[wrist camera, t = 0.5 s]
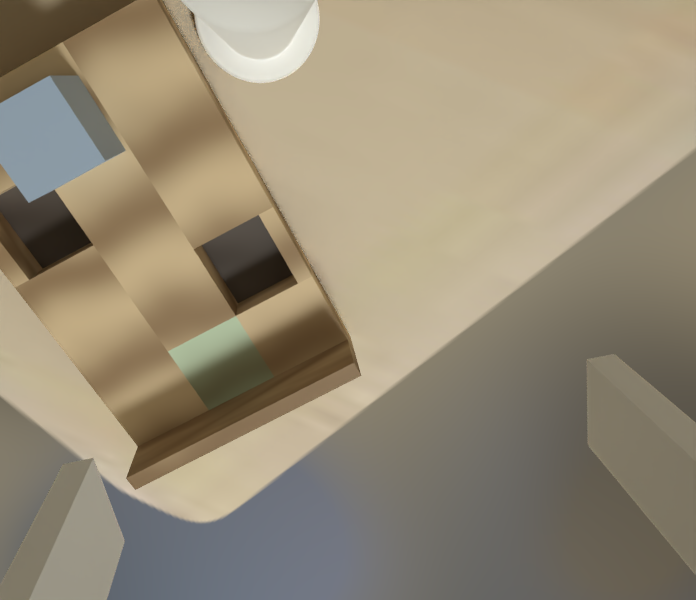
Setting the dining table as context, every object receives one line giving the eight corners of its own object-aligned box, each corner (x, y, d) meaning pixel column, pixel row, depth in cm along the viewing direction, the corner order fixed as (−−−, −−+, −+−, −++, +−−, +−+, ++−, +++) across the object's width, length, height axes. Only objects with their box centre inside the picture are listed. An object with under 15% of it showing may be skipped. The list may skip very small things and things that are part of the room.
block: (7, 114, 34) (-31, 120, 29) (78, 75, 33) (49, 75, 29) (58, 187, 35) (28, 202, 31) (125, 150, 35) (105, 160, 31)
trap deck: (-79, 131, 36) (-145, 142, 30) (160, -3, 35) (137, -18, 29) (153, 437, 44) (135, 489, 38) (350, 336, 43) (361, 375, 37)
